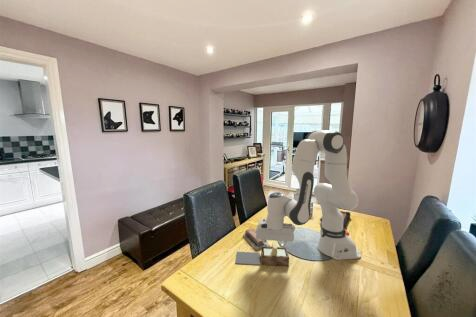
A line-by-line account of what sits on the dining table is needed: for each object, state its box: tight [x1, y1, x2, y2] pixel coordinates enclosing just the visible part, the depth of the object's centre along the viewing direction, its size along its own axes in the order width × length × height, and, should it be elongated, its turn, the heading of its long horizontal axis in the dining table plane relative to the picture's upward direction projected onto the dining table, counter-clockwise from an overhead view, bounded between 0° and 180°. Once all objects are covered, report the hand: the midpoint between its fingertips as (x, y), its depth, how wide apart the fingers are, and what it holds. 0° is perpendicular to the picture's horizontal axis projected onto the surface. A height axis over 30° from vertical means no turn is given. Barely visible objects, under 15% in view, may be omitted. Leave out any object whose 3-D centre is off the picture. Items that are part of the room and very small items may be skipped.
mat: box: [235, 251, 261, 266], centre depth 109 cm, size 13×10×1 cm
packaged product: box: [242, 228, 271, 251], centre depth 126 cm, size 18×5×10 cm
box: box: [260, 245, 290, 267], centre depth 107 cm, size 14×9×5 cm, turn 85°
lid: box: [264, 242, 286, 256], centre depth 107 cm, size 12×7×5 cm, turn 85°
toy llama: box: [293, 187, 314, 216], centre depth 168 cm, size 8×18×20 cm, turn 25°
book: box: [319, 210, 351, 230], centre depth 153 cm, size 26×18×5 cm
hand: (273, 247), depth 106 cm, fingers open, 8 cm apart
